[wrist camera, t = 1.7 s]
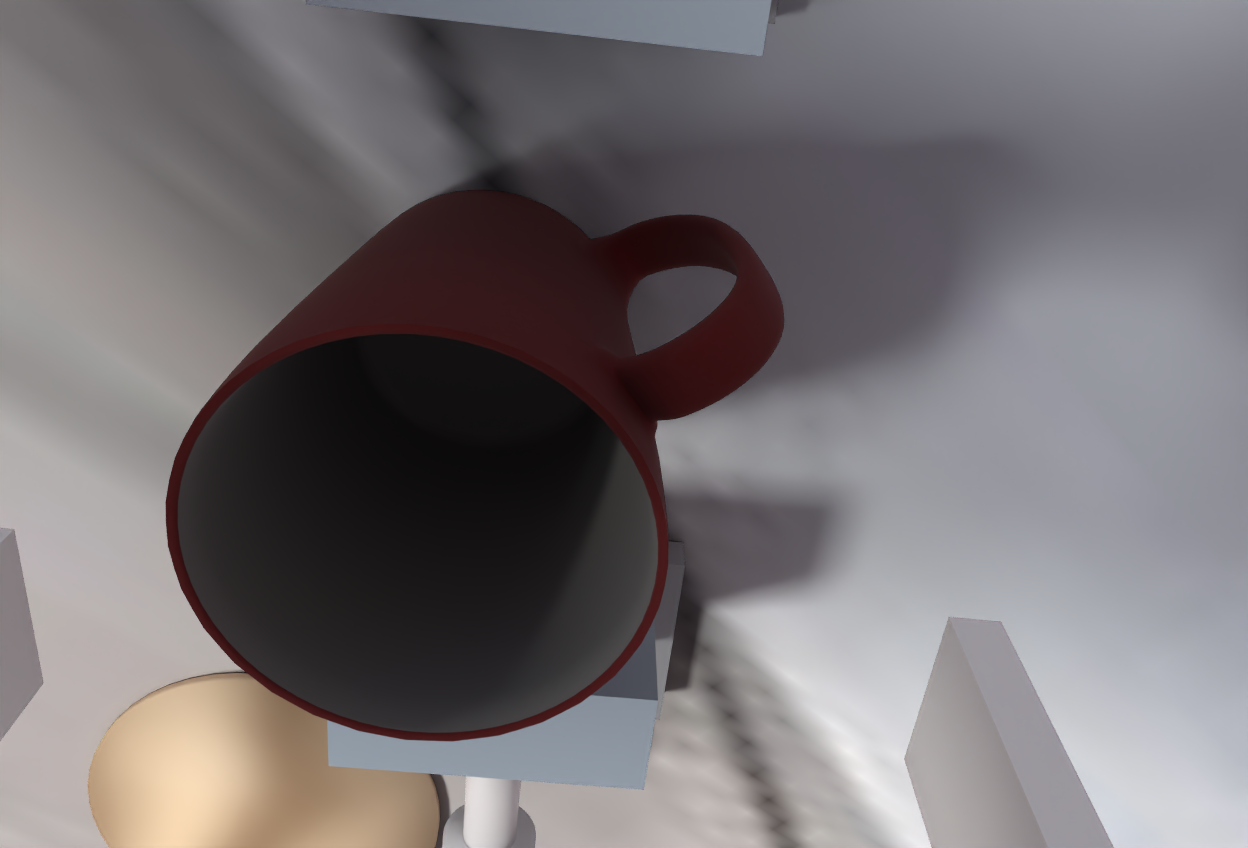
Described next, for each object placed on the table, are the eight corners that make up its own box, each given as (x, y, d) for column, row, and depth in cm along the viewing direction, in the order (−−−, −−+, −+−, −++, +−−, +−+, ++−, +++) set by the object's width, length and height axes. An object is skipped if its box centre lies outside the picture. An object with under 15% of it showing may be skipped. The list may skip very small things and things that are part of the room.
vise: (353, 748, 35) (297, 933, 29) (335, -572, 20) (206, -779, 14) (646, 771, 36) (652, 956, 30) (850, -497, 20) (952, -666, 14)
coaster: (114, 908, 39) (109, 917, 39) (71, 658, 34) (65, 666, 33) (435, 929, 40) (434, 939, 39) (444, 688, 34) (443, 696, 34)
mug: (633, 14, 25) (643, 99, 15) (811, 307, 28) (915, 534, 18) (254, 278, 28) (55, 494, 18) (457, 514, 31) (384, 804, 21)
